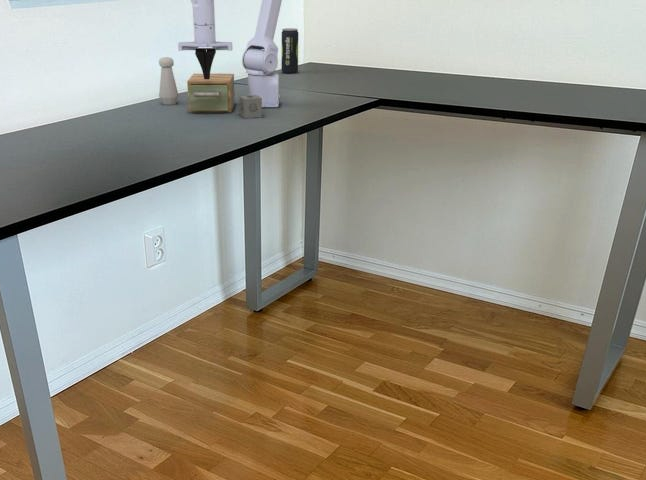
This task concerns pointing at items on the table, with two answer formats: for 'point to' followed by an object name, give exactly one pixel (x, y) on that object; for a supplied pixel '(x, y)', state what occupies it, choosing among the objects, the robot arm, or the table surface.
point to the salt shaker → (167, 82)
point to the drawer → (208, 97)
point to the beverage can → (289, 50)
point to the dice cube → (250, 106)
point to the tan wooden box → (215, 79)
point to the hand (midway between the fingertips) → (206, 78)
